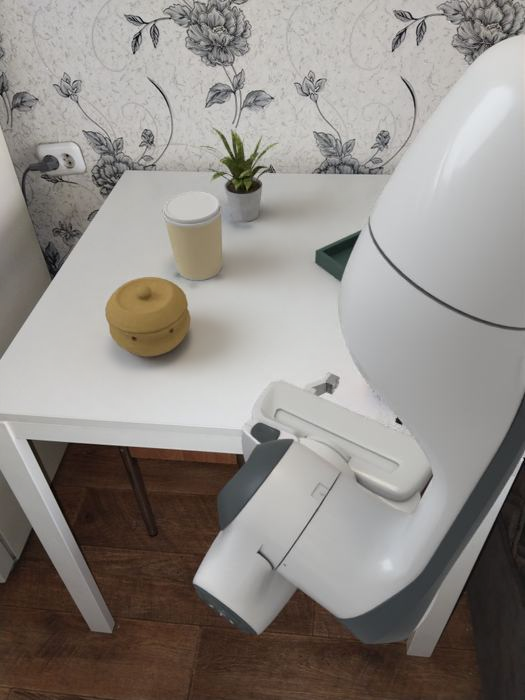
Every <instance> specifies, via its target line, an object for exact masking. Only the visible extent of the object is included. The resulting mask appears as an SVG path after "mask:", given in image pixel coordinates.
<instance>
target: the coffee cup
mask: <svg viewBox="0 0 525 700" xmlns="http://www.w3.org/2000/svg"><path fill="white" fill-rule="evenodd" d="M222 213H223V207H222V204H221V202H220V200H219V199H218V197H217V196H215V195H213V194H212V193H209V192H206V191H195V190H194V191H185V192H181V193H177V194H175V195H173V196H172V197H170V198H168V199H167V200H166V202H165V203H164V206H163V209H162V216H163V219H164V221H165V225H166V229H167V233H168V238H169V241H170V246H171V251H172V254H173V257H174V262H175V266H176V269H177V272H178V274H179V275H180V276H181V277H182V278H184V279H187V280H191V281H205V280H208V279H211V278H214V277H215V276H217V275H218V274H219V273H220V272H221V270H222V267H223V231H222V229H223V228H222V227H223V226H222Z"/></svg>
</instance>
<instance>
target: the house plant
mask: <svg viewBox="0 0 525 700" xmlns="http://www.w3.org/2000/svg"><path fill="white" fill-rule="evenodd" d="M210 128H211V129H213V130H214V131H215V132H216V134H217V135H218V136H219V137H220V139H221V140H222V143H223V145H224V147H225V150H226V151H227V153H228V154H229V156H223V157H222V155H219V153H220V154H221V152H220V151H219V150H217V149H216V148H214V147H213V146H207V145H201V146H200V145H199V148H208V150H210V151H212V152H215V153H216V154H217V155H219V157H220V158H221V159H219V162H220V163H222V165H225V166H226V167H227V168H228V170H229V173H231V174H229V173H227V172H224V171H219V172H218V171H217V170H216V169H213V168H204V170H205V171H206V170H207V171H208V170H209V171H213V172H215V173H214V174H213V175H212V177H211V179H210V182H212V181H214V180H216V179H219V178H220V177H223V178H224V179H226V180H227V181H225V183H224V186H223V187H224V192H225V194H226V199H227V202H228V207H229V209H230V214H231V217H232V219H233V220H235V221H236V222H239V223H240V222H241V223H249V222H252V221H254V220H256V219H257V218H258V217H259V214H260V208H261V207H260V206H261V200H262V192H263V182H262V180H261V179H259V178H260V177H261V176H262V175H263V174H265V173H268V172H275V170H274V169H273V168H270V167H267V166H265V165H257V166H256V164H257V163H258V161H259V160H260V159H261V158H262V157H263V156H264V155H265V154H266V153H267V151H269V150H270V148H272V147H274V146H276V145H279V142H275V143H271V144H270V145H268V146H267V147H266V148H264V149H263V150H262V151H261V152H258V150H259V147H260V145H261V143H262V139H263V134H262V135H261V136H260V138H259V140H258V142H257V143H256V146H255V148H254V151H253V153H251V154H250V157H248V158H247V159H246V157H245V149H244V145H245V143H244V142H243V141H244V140H245V138H243V139H242V138H240V136H239V134H238V133H237V132H235V131H234V130H233V129H232V128H231V129H230V133H231V134H230V135H231V143H232V144H231V145H232V149H231V147H230V144H229V142H228V140H227V138H226V136H225V135H224V134H223V133H222V132H221V131H220V130H219V129H217V128H216V127H215V128H214V127H212V126H211V127H210ZM248 132H249V131H246V133H245V134H244V136H247V133H248ZM217 152H218V153H217ZM254 161H255V162H254ZM261 169H265V170H264V171H262V172H261V173H260V174H259V175H258V176H257V177H256V174H257V173H258V172H259V171H260V170H261ZM224 175H228V176H230V177H231V178H230V179H229V178H227V177H226V176H224Z"/></svg>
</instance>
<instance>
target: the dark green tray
mask: <svg viewBox="0 0 525 700" xmlns="http://www.w3.org/2000/svg"><path fill="white" fill-rule="evenodd" d="M361 231H362V229H360V230H358V231H356V232H355V231H354V232H353V233H351V234H348V235H347V236H345V237H343V238H340V239H338V240H335V241H333V242H332V243H329V244H327V245H324V246H323V247H320V248H318V249H316V250H315V259H314V262H315V264H316V265H318V266H319V267H321V269H323V270H324V271H326V272H327V273H329V274H330V275H331V276H332V277H334V278H335V279H337V280H338V281H339V282H341V280H342V277H343V274H344V271H345V268H346V265H347V263H348V260H349V258H350V255H351V253H352V251H353V248H354V246H355V244H356V241H357V239H358V237H359V235H360V233H361Z"/></svg>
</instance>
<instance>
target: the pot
mask: <svg viewBox="0 0 525 700" xmlns="http://www.w3.org/2000/svg"><path fill="white" fill-rule="evenodd" d="M188 306H189V303H188V299H187V295H186V293H185V291H184V290H183V289H182V288H181V287H180V286H179V285H177V284H176V283H174V282H172V281H170V280H168V279H166V278H161V277H155V276H144V277H138V278H135V279H131V280H129V281H127V282H125V283H124V284H122V285H120V286H119V287H117V288H116V289H115V291H114V292H113V293H112V294H111V295H110V297H109V298H108V300H107V302H106V305H105V308H104V311H105V313H104V314H105V319H106V321H107V323H108V327H109V328H108V329H109V334H110V336H111V338H112V340H113V341H114V342H115V343H116V344H117V346H119V347H120V348H121V349H123V350H124V351H126V352H128V353H130V354H131V355H135V356H137V357H139V356H140V357H157V356H160V355H163V354H167V353H168V352H171V351H172V350H174V349H175V348H176V347H177V346H179V344H180V343H181V342H182V341H183V340H184V338H185V337H186V336H187V333H188V331H189V328H190V326H191V314H190V311H189V309H188Z"/></svg>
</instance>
